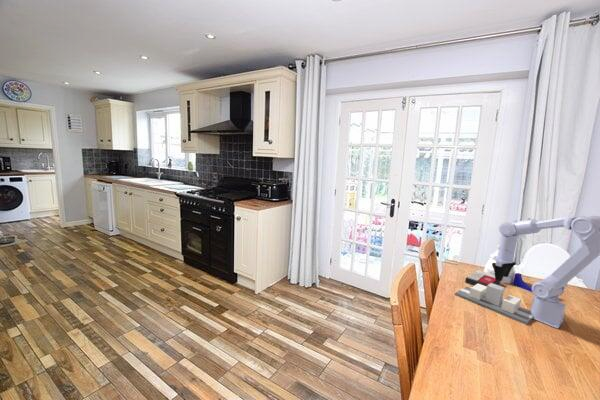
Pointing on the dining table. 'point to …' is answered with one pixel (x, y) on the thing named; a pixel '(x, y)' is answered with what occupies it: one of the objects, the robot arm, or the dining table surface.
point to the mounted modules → (508, 303)
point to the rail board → (497, 307)
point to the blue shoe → (521, 282)
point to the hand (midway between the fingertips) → (501, 278)
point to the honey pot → (490, 270)
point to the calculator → (481, 278)
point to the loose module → (494, 294)
